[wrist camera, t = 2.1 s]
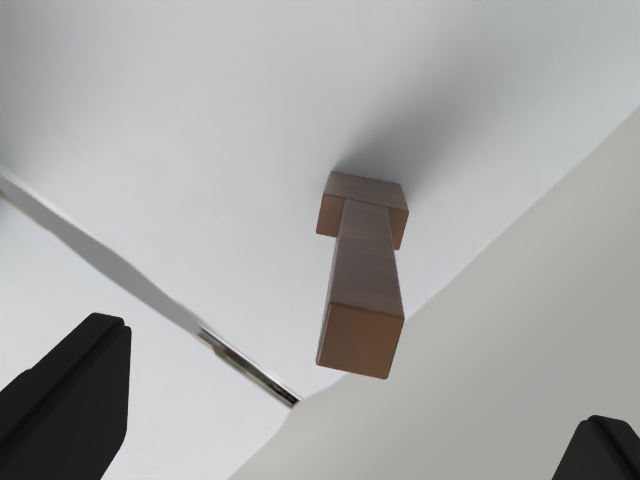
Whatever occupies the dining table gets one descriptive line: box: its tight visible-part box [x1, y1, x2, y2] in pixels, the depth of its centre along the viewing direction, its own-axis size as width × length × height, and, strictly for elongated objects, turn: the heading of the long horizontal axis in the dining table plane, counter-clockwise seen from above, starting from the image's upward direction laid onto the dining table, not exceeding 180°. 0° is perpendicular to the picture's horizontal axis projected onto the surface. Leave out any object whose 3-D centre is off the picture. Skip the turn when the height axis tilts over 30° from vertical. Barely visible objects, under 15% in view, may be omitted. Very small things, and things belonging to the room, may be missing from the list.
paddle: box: [316, 171, 409, 379], centre depth 19 cm, size 4×2×15 cm, turn 79°
